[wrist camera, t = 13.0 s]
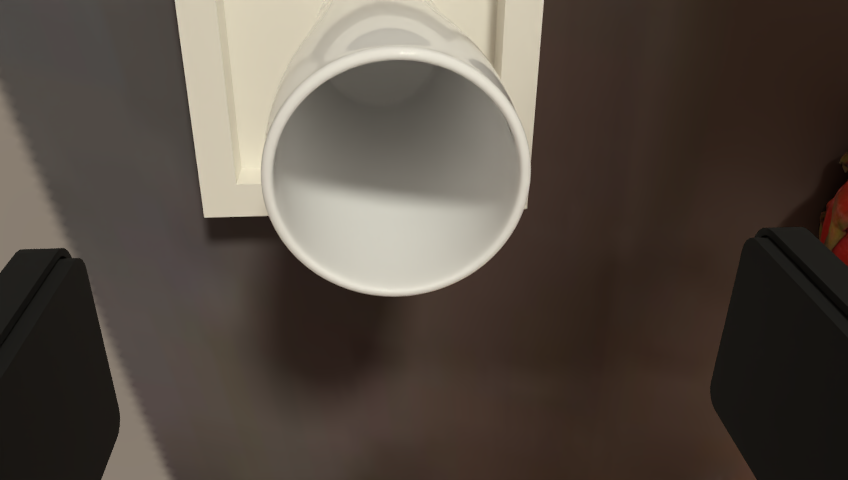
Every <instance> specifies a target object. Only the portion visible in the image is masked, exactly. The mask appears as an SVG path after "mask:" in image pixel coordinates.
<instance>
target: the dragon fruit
mask: <svg viewBox="0 0 848 480" xmlns="http://www.w3.org/2000/svg"><path fill="white" fill-rule="evenodd" d="M841 164H842V166H843V169H844V172H845V173H847V172H848V152H847V153H845V154H844V155H843V156H842V158H841V159H840V165H841ZM819 240H820V241H821V242H822V243H823V244H824V245H825V246H826V247H827V248H828V249H829V250H831V251H832V252H833V253H834V254H835V255H836V256H837V257H838V258H839V259H840V260H841V261H843V262H844V263H845V264H846V265H847V266H848V181H847V182H846V183H845V184H844V185H843V186H842V187H841V188H840V189H839V190H838V191H837V193H836V195H835V197H834V198H833V199H831V200H830V201H829V202H828V203H827V207H826V211H824V212H822V213H821V216H820V227H819Z"/></svg>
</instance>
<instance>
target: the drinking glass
mask: <svg viewBox="0 0 848 480" xmlns="http://www.w3.org/2000/svg"><path fill="white" fill-rule="evenodd" d="M530 179H531V160H530V152H529V145H528V141H527V138H526V134H525V131H524V128H523V126H522V123H521V121H520V119H519V117H518V114H517V112H516V109H515V107H514V104H513V102H512V100H511V98H510V96H509V94H508V92H507V90H506V88H505V86H504V84H503V82H502V80H501V79H500V77H499V75H498V74H497V72H496V70H495V69H494V67H493V66H492V64H491V63H490V62H489V60H488V59H487V57H486V56H485V55H484V53H483V52H482V51H481V50H480V49H479V47H478V46H477V45H476V44H475V43H474V42H473V41H472V40H471V39H470V38H469V37H468V36H467V35H466V34H465V33H464V32H463V31H462V30H461V29H460V28H459V27H458V26H457V25H456V24H454V23H453V22H452V21H451V20H450V19H449V18H448V17H446V16H445V15H444V14H443V13H442V12H441V11H440V10H439V9H438V8H437V7H436V5H435V4H434V3H433V1H432V0H325V1H324V2H323V4H322V5H321V7H320V9H319V11H318V13H317V16H316V19H315V22H314V24H313V26H312V27H311V29H310V30H309V32H308V33H307V35H306V37H305V38H304V40H303V41H302V43H301V44H300V46H299V47H298V49H297V50H296V52H295V53H294V55H293V56H292V58H291V60H290V62H289V64H288V65H287V67H286V69H285V71H284V73H283V75H282V78H281V80H280V82H279V85H278V87H277V90H276V93H275V96H274V99H273V102H272V105H271V109H270V113H269V117H268V122H267V127H266V132H265V138H264V146H263V154H262V161H261V186H262V194H263V198H264V202H265V207H266V209H267V212H268V215H269V218H270V220H271V222H272V224H273V226H274V228H275V230H276V232H277V234H278V235H279V237H280V238H281V240H282V241H283V243H284V244H285V245H286V247H287V248H288V249H289V250H290V252H291V253H292V254H293V255H294V256H295V257H296V258H297V259H298V260H299V261H300V262H301V263H303V264H304V265H305V266H306V267H307V268H309V269H310V270H311V271H313V272H314V273H316V274H317V275H319V276H320V277H322V278H324V279H325V280H327V281H329V282H331V283H333V284H336V285H338V286H340V287H343V288H346V289H348V290H352V291H355V292H359V293H363V294H369V295H375V296H387V297H400V296H412V295H418V294H424V293H428V292H432V291H435V290H438V289H442V288H444V287H447V286H449V285H452V284H454V283H456V282H458V281H460V280H462V279H464V278H466V277H467V276H469V275H470V274H472V273H474V272H475V271H477V270H478V269H479V268H481V267H482V266H483V265H484V264H486V263H487V262H488V261H489V260H490V259H491V258H492V257H493V256H494V255H495V254H496V253H497V252H498V251H499V250H500V249H501V248H502V247H503V245H504V244H505V243H506V241H507V240H508V239H509V237H510V236H511V234H512V232H513V231H514V229H515V228H516V226H517V224H518V222H519V220H520V218H521V215H522V213H523V210H524V207H525V205H526V201H527V197H528V193H529V187H530Z"/></svg>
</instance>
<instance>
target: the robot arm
mask: <svg viewBox="0 0 848 480" xmlns="http://www.w3.org/2000/svg"><path fill="white" fill-rule="evenodd" d="M710 394H711V400H712V404H713V407H714V409H715V411H716V412H717V414H718V416H719V417H720V419H721V421H722V422H723V424H724V426H725V427H726V429H727V431H728V432H729V434H730V436H731V437H732V439H733V441H734V442H735V444H736V446H737V447H738V449H739V451H740V452H741V454H742V456H743V457H744V459H745V461H746V462H747V464H748V466H749V467H750V469H751V471H752V472H753V474H754V475H755V477H756V479H757V480H848V266H847V265H846V264H845V263H844V262H843V261H841V260H840V259H839V258H838V257H837V256H836V255H835V254H834V253H833V252H832V251H831V250H829V249H828V248H827V247H826V246H825V245H824V244H823V243H822V242H821V241H820V240H819V239H818V238H816V237H815V236H814V235H813V234H812V233H811V232H810V231H809V230H807V229H806V228H804V227H780V228H762V229H761V230H759V231H758V233H757V234H756V235H755V238H749V239H748V240H747V241H746V242H745V244H744V246H743V249H742V253H741V258H740V262H739V266H738V270H737V275H736V279H735V283H734V287H733V291H732V296H731V300H730V304H729V308H728V313H727V317H726V321H725V325H724V330H723V334H722V338H721V342H720V346H719V351H718V355H717V359H716V363H715V368H714V372H713V376H712V380H711V386H710ZM119 427H120V413H119V407H118V403H117V398H116V394H115V390H114V385H113V381H112V377H111V372H110V369H109V364H108V360H107V355H106V351H105V347H104V342H103V338H102V334H101V329H100V325H99V321H98V317H97V312H96V308H95V304H94V299H93V295H92V291H91V287H90V282H89V278H88V274H87V269H86V266H85V263H84V262H83V260H82V259H80V258H71V255H70V254H69V252H68V251H67V250H66V249H65V248H56V249H24V250H19V251H18V252H16V253H15V255H14V256H13V257H12V258H11V260H10V261H9V262H8V264H7V265H6V266H5V267H4V269H3V270H2V271H1V273H0V480H101V478H102V476H103V473H104V470H105V468H106V465H107V462H108V460H109V457H110V455H111V452H112V450H113V447H114V444H115V442H116V439H117V436H118V433H119Z"/></svg>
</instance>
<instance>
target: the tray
mask: <svg viewBox="0 0 848 480" xmlns="http://www.w3.org/2000/svg"><path fill="white" fill-rule="evenodd" d="M324 1H325V0H175V6H176V13H177V20H178V28H179V35H180V42H181V50H182V57H183V64H184V72H185V79H186V86H187V94H188V101H189V109H190V116H191V123H192V131H193V138H194V145H195V153H196V160H197V167H198V175H199V182H200V189H201V197H202V204H203V212H204V218H208V217H244V216H269V215H268V212H267V209H266V207H265V202H264V198H263V194H262V186H261V161H262V154H263V146H264V138H265V132H266V127H267V122H268V117H269V113H270V109H271V105H272V102H273V99H274V96H275V93H276V90H277V87H278V85H279V82H280V80H281V78H282V75H283V73H284V71H285V69H286V67H287V65H288V64H289V62H290V60H291V58H292V56H293V55H294V53H295V52H296V50H297V49H298V47H299V46H300V44H301V43H302V41H303V40H304V38H305V37H306V35H307V33H308V32H309V30H310V29H311V27H312V26H313V24H314V22H315V19H316V16H317V13H318V11H319V9H320V7H321V5H322V4H323V2H324ZM432 1H433V3H434V4H435V5H436V7H437V8H438V9H439V10H440V11H441V12H442V13H443V14H444V15H445V16H446V17H448V18H449V19H450V20H451V21H452V22H453V23H454V24H456V25H457V26H458V27H459V28H460V29H461V30H462V31H463V32H464V33H465V34H466V35H467V36H468V37H469V38H470V39H471V40H472V41H473V42H474V43H475V44H476V45H477V46H478V47H479V49H480V50H481V51H482V52H483V53H484V55H485V56H486V57H487V59H488V60H489V62H490V63H491V64H492V66H493V67H494V69H495V70H496V72H497V74H498V75H499V77H500V79H501V80H502V82H503V84H504V86H505V88H506V90H507V92H508V94H509V96H510V98H511V100H512V102H513V104H514V107H515V109H516V112H517V114H518V117H519V119H520V121H521V123H522V126H523V128H524V131H525V134H526V138H527V141H528V145H529V152H530V160H531V153H532V140H533V128H534V115H535V103H536V91H537V78H538V66H539V54H540V41H541V29H542V16H543V4H544V0H432ZM527 202H528V197H527V201H526V205H525V207H524V209H527Z"/></svg>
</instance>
